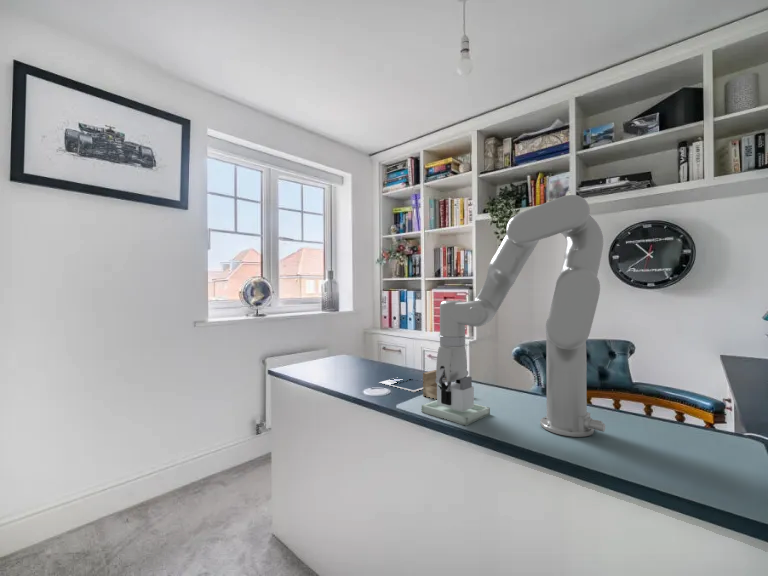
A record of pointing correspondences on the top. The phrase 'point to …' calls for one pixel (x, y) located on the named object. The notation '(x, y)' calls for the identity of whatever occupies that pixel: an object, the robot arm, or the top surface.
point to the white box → (459, 395)
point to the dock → (430, 384)
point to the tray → (456, 413)
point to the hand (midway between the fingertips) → (452, 401)
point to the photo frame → (389, 382)
